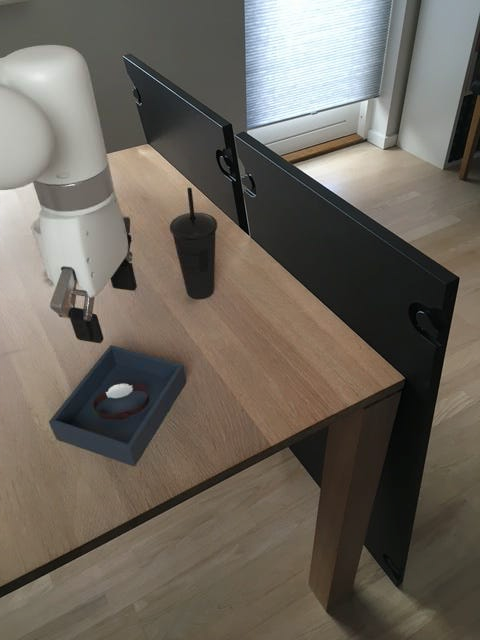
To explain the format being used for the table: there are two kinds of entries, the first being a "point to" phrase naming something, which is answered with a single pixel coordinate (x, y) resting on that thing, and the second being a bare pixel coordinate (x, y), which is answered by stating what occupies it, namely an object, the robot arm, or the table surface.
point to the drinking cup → (196, 250)
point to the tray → (119, 404)
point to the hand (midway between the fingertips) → (108, 312)
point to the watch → (119, 392)
